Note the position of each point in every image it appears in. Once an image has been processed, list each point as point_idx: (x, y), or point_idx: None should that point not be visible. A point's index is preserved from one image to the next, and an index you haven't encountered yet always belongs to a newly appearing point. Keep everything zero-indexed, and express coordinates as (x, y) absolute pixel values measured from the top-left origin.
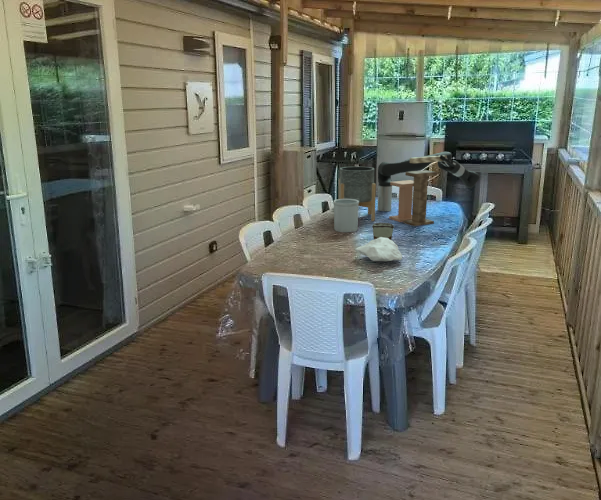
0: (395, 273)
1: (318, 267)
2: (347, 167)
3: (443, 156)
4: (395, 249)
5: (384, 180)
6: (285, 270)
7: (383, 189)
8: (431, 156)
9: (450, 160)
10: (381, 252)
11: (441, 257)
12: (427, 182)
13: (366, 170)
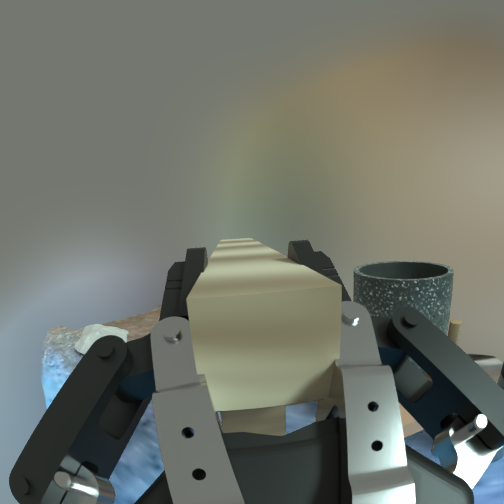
0: (69, 341)
1: (135, 323)
2: (433, 265)
3: (182, 278)
4: (82, 340)
5: None
6: (150, 313)
7: (497, 383)
8: (253, 250)
9: (89, 400)
10: (87, 328)
11: (43, 381)
12: (220, 412)
13: (360, 274)
